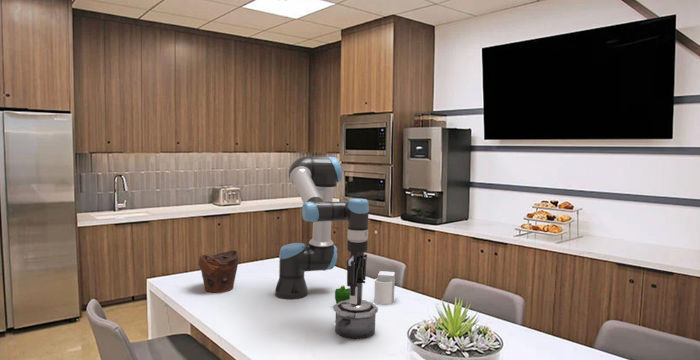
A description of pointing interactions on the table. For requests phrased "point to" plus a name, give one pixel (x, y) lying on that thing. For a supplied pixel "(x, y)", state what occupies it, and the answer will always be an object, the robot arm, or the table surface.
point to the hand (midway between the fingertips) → (355, 301)
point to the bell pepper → (342, 294)
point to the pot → (355, 322)
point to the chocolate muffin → (219, 271)
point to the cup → (383, 293)
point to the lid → (360, 304)
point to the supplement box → (387, 279)
